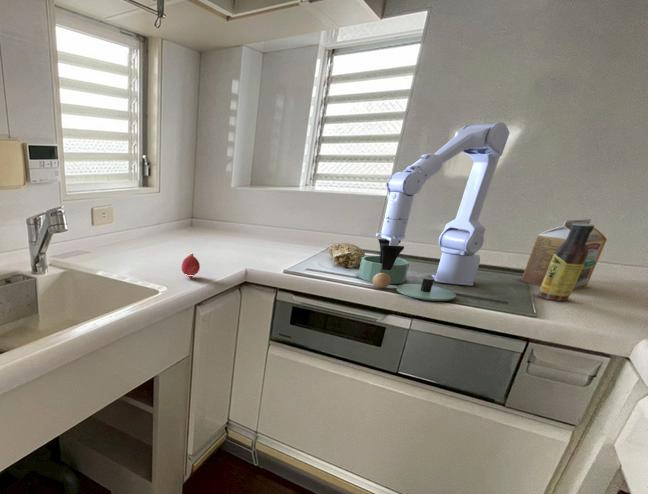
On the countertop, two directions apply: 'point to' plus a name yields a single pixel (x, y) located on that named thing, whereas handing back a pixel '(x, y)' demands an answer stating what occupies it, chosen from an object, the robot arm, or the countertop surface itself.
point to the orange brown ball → (381, 280)
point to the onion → (190, 265)
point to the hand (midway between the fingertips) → (385, 266)
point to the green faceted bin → (373, 267)
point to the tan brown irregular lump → (346, 254)
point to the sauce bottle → (566, 264)
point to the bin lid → (426, 291)
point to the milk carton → (549, 245)
